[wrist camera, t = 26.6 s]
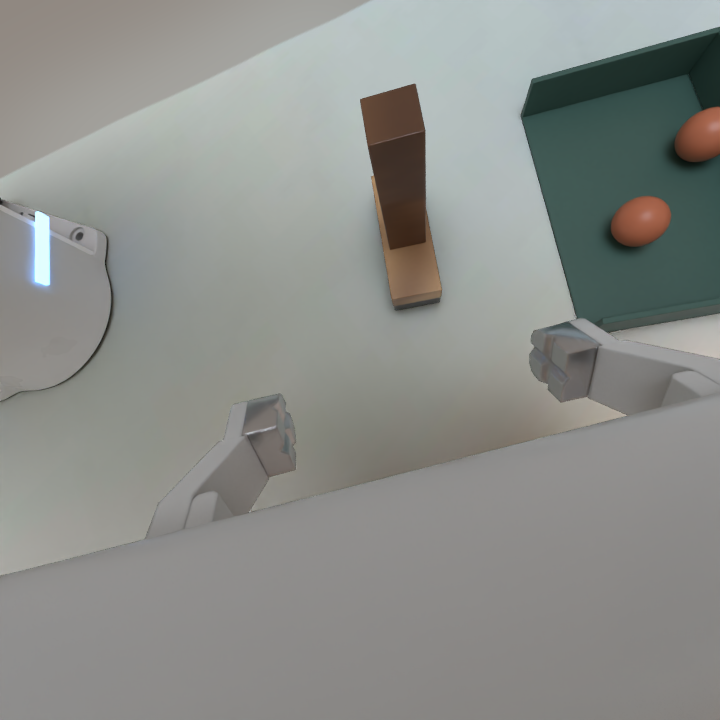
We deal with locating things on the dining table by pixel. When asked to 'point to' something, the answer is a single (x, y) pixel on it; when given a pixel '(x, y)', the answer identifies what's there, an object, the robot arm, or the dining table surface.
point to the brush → (402, 194)
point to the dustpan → (631, 180)
